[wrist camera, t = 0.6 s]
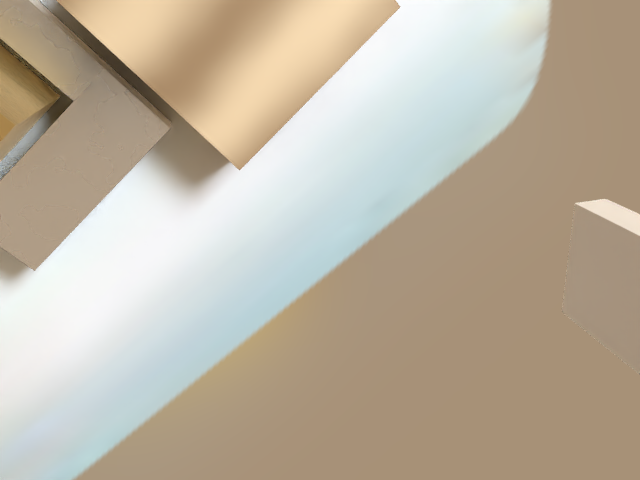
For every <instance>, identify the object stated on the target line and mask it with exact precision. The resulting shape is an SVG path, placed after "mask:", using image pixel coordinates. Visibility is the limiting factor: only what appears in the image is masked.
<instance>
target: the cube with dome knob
mask: <svg viewBox="0 0 640 480" xmlns="http://www.w3.org/2000/svg"><path fill="white" fill-rule="evenodd" d="M59 98H60V95H59V94H58V93H57V92H56V91H54V90H53V89H52V88H51V87H50V86H48V85H47V84H46V83H45V82H44V81H43V80H41V79H40V78H39V77H38V76H37V75H36V74H34V73H33V72H32V71H31V70H30V69H29V68H27V67H26V66H25V65H24V64H23V63H21V62H20V61H19V60H18V59H17V58H16V57H14V56H13V55H12V54H11V53H10V52H9V51H7V50H6V49H5V48H4V47H3V46H2V45H0V162H1V161H2V160H3V159H4V157H5V156H6V155H7V154H8V153H9V152H10V151H11V150H12V149H13V148H14V147H15V145H16V144H17V143H18V142H19V141H20V140H21V139H22V138H23V137H24V136H25V135H26V133H27V132H28V131H29V130H30V129H31V128H32V127H33V126H34V125H35V124H36V123H37V121H38V120H39V119H40V118H41V117H42V116H43V115H44V114H45V113H46V112H47V111H48V109H49V108H50V107H51V106H52V105H53V104H54V103H55V102H56V101H57V100H58V99H59Z"/></svg>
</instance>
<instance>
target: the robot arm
mask: <svg viewBox="0 0 640 480" xmlns="http://www.w3.org/2000/svg"><path fill="white" fill-rule="evenodd" d="M562 312H563V313H564V314H565V315H566V316H568V317H569V318H570V319H571V320H572V321H574V322H575V323H576V324H577V325H579V326H580V327H581V328H582V329H584V330H585V331H586V332H587V333H589V334H590V335H591V336H592V337H594V338H595V339H596V340H597V341H599V342H600V343H601V344H602V345H604V346H605V347H606V348H607V349H609V350H610V351H611V352H612V353H614V354H615V355H616V356H617V357H618V358H620V359H621V360H622V361H623V362H625V363H626V364H627V365H628V366H630V367H631V368H632V369H633V370H635V371H636V372H637V373H638V374H640V214H638V213H636V212H633V211H631V210H629V209H627V208H624V207H622V206H620V205H618V204H616V203H614V202H611V201H609V200H607V199H601V200H595V201H588V202H581V203H575V206H574V214H573V223H572V231H571V240H570V249H569V257H568V266H567V274H566V282H565V291H564V299H563V308H562Z"/></svg>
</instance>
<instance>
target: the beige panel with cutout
mask: <svg viewBox="0 0 640 480" xmlns="http://www.w3.org/2000/svg"><path fill="white" fill-rule="evenodd" d="M0 39H1V40H3V41H4V42H5V43H6V44H7V45H8V46H10V47H11V48H12V49H13V50H14V51H15V52H17V53H18V54H19V55H20V56H21V57H22V58H24V59H25V60H26V61H27V62H28V63H29V64H31V65H32V66H33V67H34V68H35V69H36V70H38V71H39V72H40V73H41V74H42V75H43V76H45V77H46V78H47V79H48V80H49V81H50V82H52V83H53V84H54V85H55V86H56V87H58V88H59V89H60V90H61V91H62V92H63V93H65V94H66V95H67V96H68V97H69V98H70V99H72V100H73V103H72V104H71V105H70V106H69V107H68V108H67V109H66V110H65V111H64V112H63V113H62V114H61V116H60V117H59V118H58V119H57V120H56V121H55V122H54V123H53V124H52V125H51V126H50V127H49V129H48V130H47V131H46V132H45V133H44V134H43V135H42V136H41V137H40V138H39V139H38V140H37V142H36V143H35V144H34V145H33V146H32V147H31V148H30V149H29V150H28V151H27V152H26V153H25V155H24V156H23V157H22V158H21V159H20V160H19V161H18V162H17V163H16V164H15V165H14V166H13V168H12V169H11V170H10V171H9V172H8V173H7V174H6V175H5V176H4V177H3V178H2V179H1V181H0V247H1V248H3V249H4V250H5V251H7V252H8V253H10V254H11V255H13V256H14V257H16V258H17V259H18V260H20V261H21V262H23V263H24V264H26V265H27V266H28V267H30V268H31V269H33V270H34V271H35V270H36V269H37V268H38V267H39V266H40V264H41V263H42V262H43V261H44V260H45V259H46V258H47V257H48V256H49V255H50V254H51V253H52V252H53V251H54V250H55V249H56V248H57V247H58V246H59V245H60V244H61V242H62V241H63V240H64V239H65V238H66V237H67V236H68V235H69V234H70V233H71V232H72V231H73V230H74V229H75V228H76V227H77V226H78V225H79V224H80V223H81V222H82V220H83V219H84V218H85V217H86V216H87V215H88V214H89V213H90V212H91V211H92V210H93V209H94V208H95V207H96V206H97V205H98V204H99V203H100V202H101V201H102V200H103V198H104V197H105V196H106V195H107V194H108V193H109V192H110V191H111V190H112V189H113V188H114V187H115V186H116V185H117V184H118V183H119V182H120V181H121V180H122V179H123V178H124V176H125V175H126V174H127V173H128V172H129V171H130V170H131V169H132V168H133V167H134V166H135V165H136V164H137V163H138V162H139V161H140V160H141V159H142V158H143V157H144V156H145V154H146V153H147V152H148V151H149V150H150V149H151V148H152V147H153V146H154V145H155V144H156V143H157V142H158V141H159V140H160V139H161V138H162V137H163V136H164V135H165V134H166V132H167V131H168V130H169V129H170V128H171V121H170V120H169V119H168V118H166V117H165V116H164V115H163V114H162V113H161V112H160V111H159V110H158V109H157V108H155V107H154V106H153V105H152V104H151V103H150V102H149V101H148V100H147V99H146V98H144V97H143V96H142V95H141V94H140V93H139V92H138V91H137V90H136V89H135V88H134V87H132V86H131V85H130V84H129V83H128V82H127V81H126V80H125V79H124V78H123V77H121V76H120V75H119V74H118V73H117V72H116V71H115V70H114V69H113V68H112V67H111V66H109V65H108V64H107V63H106V62H105V61H104V60H103V59H102V58H101V57H100V56H98V55H97V54H96V53H95V52H94V51H93V50H92V49H91V48H90V47H89V46H88V45H86V44H85V43H84V42H83V41H82V40H81V39H80V38H79V37H78V36H77V35H75V34H74V33H73V32H72V31H71V30H70V29H69V28H68V27H67V26H66V25H65V24H63V23H62V22H61V21H60V20H59V19H58V18H57V17H56V16H55V15H54V14H52V13H51V12H50V11H49V10H48V9H47V8H46V7H45V6H44V5H43V4H42V3H40V2H39V1H38V0H0Z"/></svg>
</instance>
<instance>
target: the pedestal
mask: <svg viewBox="0 0 640 480" xmlns="http://www.w3.org/2000/svg"><path fill="white" fill-rule="evenodd" d="M56 1H57V2H58V3H59V4H61V5H62V6H63V7H64V8H65V9H66V10H67V11H68V12H69V13H70V14H71V15H72V16H73V17H75V18H76V19H77V20H78V21H79V22H80V23H81V24H82V25H83V26H84V27H85V28H86V29H88V30H89V31H90V32H91V33H92V34H93V35H94V36H95V37H96V38H97V39H98V40H99V41H100V42H102V43H103V44H104V45H105V46H106V47H107V48H108V49H109V50H110V51H111V52H112V53H113V54H115V55H116V56H117V57H118V58H119V59H120V60H121V61H122V62H123V63H124V64H125V65H126V66H127V67H129V68H130V69H131V70H132V71H133V72H134V73H135V74H136V75H137V76H138V77H139V78H140V79H142V80H143V81H144V82H145V83H146V84H147V85H148V86H149V87H150V88H151V89H152V90H153V91H154V92H156V93H157V94H158V95H159V96H160V97H161V98H162V99H163V100H164V101H165V102H166V103H167V104H169V105H170V106H171V107H172V108H173V109H174V110H175V111H176V112H177V113H178V114H179V115H180V116H181V117H183V118H184V119H185V120H186V121H187V122H188V123H189V124H190V125H191V126H192V127H193V128H194V129H195V130H197V131H198V132H199V133H200V134H201V135H202V136H203V137H204V138H205V139H206V140H207V141H208V142H210V143H211V144H212V145H213V146H214V147H215V148H216V149H217V150H218V151H219V152H220V153H221V154H222V155H224V156H225V157H226V158H227V159H228V160H229V161H230V162H231V163H232V164H233V165H234V166H235V167H237V168H238V169H239V170H240V169H241V168H242V167H243V166H244V165H245V164H246V163H247V162H248V161H249V160H250V159H251V158H252V157H253V156H254V155H255V154H256V153H257V152H258V151H259V150H260V149H261V148H262V147H263V146H264V145H265V144H266V143H267V142H268V141H269V140H270V139H271V138H272V137H273V136H274V135H275V134H276V133H277V132H278V131H279V130H280V129H281V128H282V127H283V126H284V125H285V124H286V123H287V122H288V121H289V120H290V119H291V118H292V117H293V116H294V115H295V114H296V113H297V112H298V111H299V109H300V108H301V107H302V106H303V105H304V104H305V103H306V102H307V101H308V100H309V99H310V98H311V97H312V96H313V95H314V94H315V93H316V92H317V91H318V90H319V89H320V88H321V87H322V86H323V85H324V84H325V83H326V82H327V81H328V80H329V79H330V78H331V77H332V76H333V75H334V74H335V73H336V72H337V71H338V70H339V69H340V68H341V67H342V66H343V65H344V64H345V63H346V62H347V61H348V60H349V59H350V58H351V57H352V56H353V55H354V54H355V53H356V52H357V51H358V50H359V49H360V47H361V46H362V45H363V44H364V43H365V42H366V41H367V40H368V39H369V38H370V37H371V36H372V35H373V34H374V33H375V32H376V31H377V30H378V29H379V28H380V27H381V26H382V25H383V24H384V23H385V22H386V21H387V20H388V19H389V18H390V17H391V16H392V15H393V14H394V13H395V12H396V11H397V10H398V9H399V8H400V6H399V5H398V3H397V2H396V1H395V0H56Z"/></svg>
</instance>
